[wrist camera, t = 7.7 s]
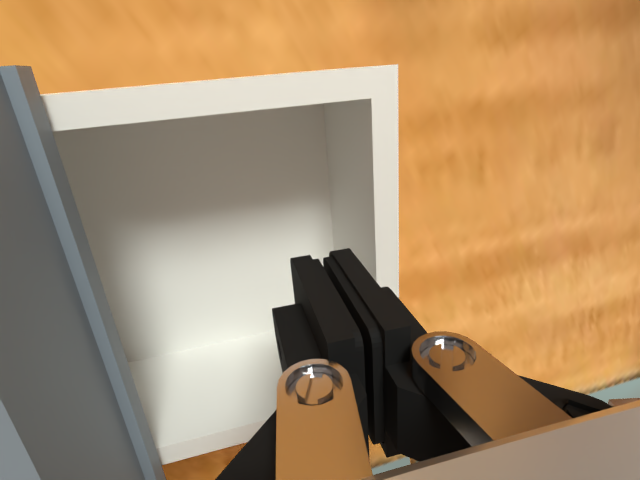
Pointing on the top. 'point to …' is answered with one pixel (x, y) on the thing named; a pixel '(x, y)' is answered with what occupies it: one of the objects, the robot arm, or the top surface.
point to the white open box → (225, 225)
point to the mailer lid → (57, 320)
